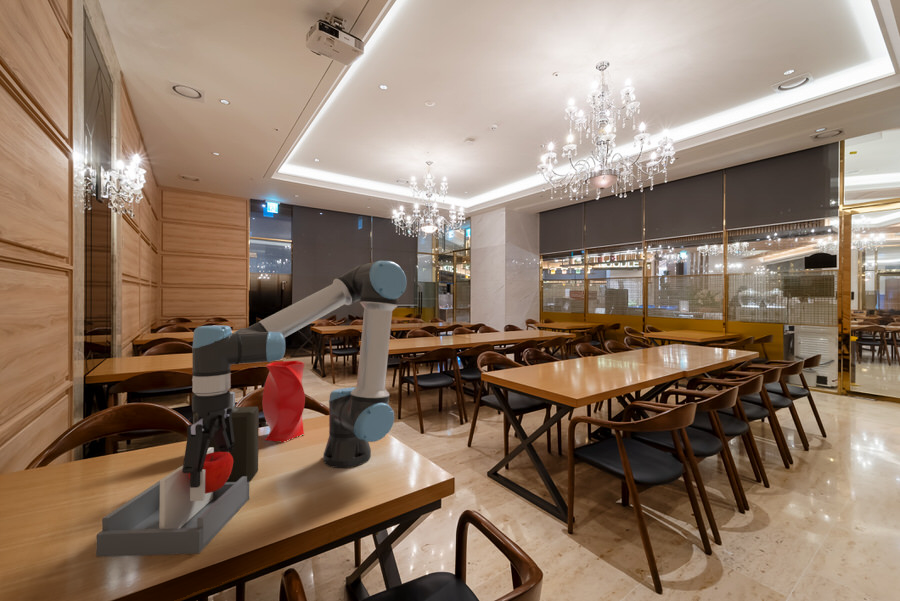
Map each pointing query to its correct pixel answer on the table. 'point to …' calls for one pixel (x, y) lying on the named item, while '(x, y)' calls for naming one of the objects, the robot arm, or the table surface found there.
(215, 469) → the apple
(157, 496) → the grey tray
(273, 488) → the table surface
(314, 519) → the table surface
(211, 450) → the plate
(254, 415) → the bottle
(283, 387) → the vase
